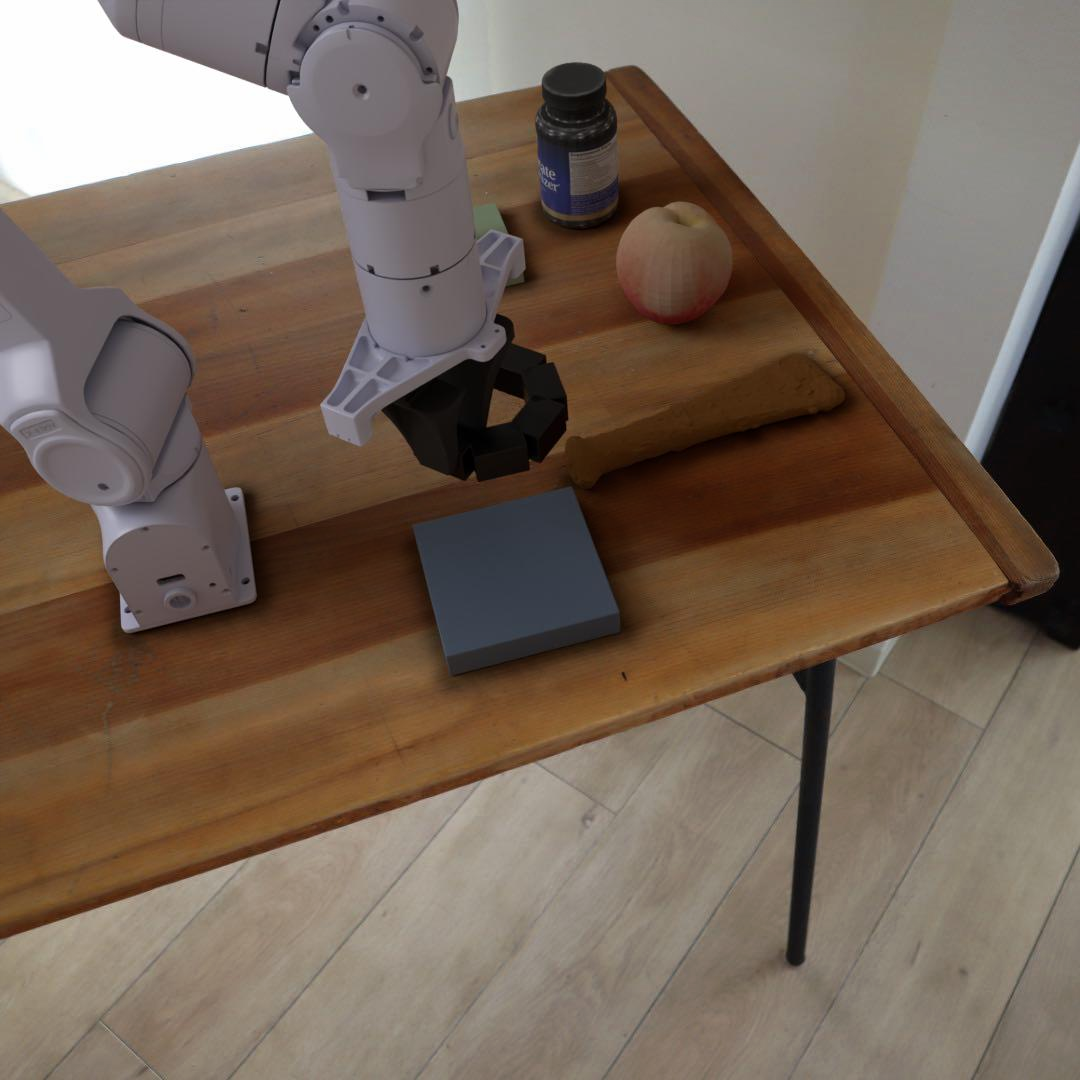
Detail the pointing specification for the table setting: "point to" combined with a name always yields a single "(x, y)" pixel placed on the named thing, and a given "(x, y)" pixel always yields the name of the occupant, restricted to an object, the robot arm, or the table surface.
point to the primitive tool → (708, 417)
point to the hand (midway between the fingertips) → (452, 449)
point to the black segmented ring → (517, 420)
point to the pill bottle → (577, 146)
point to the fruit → (674, 262)
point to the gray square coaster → (515, 580)
